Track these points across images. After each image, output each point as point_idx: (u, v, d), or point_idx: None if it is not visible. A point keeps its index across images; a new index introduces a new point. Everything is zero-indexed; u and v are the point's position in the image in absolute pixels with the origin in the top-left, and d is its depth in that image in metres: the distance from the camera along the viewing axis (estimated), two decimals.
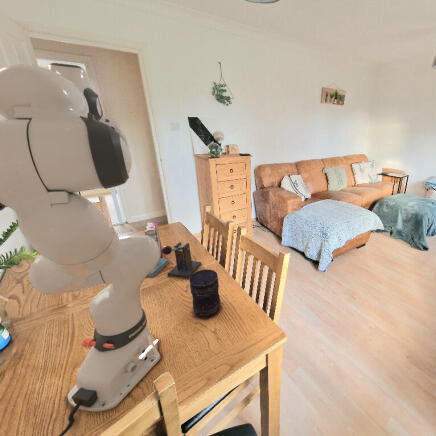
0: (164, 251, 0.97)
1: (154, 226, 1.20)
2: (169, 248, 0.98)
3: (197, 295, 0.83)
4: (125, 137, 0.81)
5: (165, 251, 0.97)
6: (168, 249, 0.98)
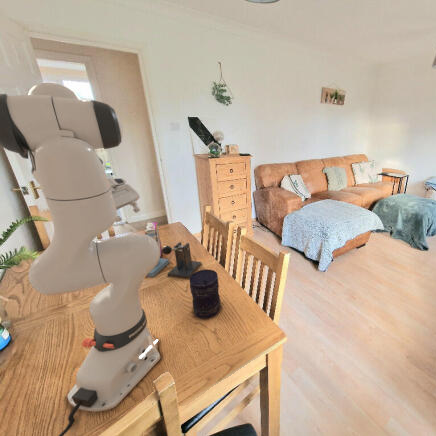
0: (164, 251, 0.97)
1: (154, 226, 1.20)
2: (169, 248, 0.98)
3: (197, 295, 0.83)
4: None
5: (165, 251, 0.97)
6: (168, 249, 0.98)
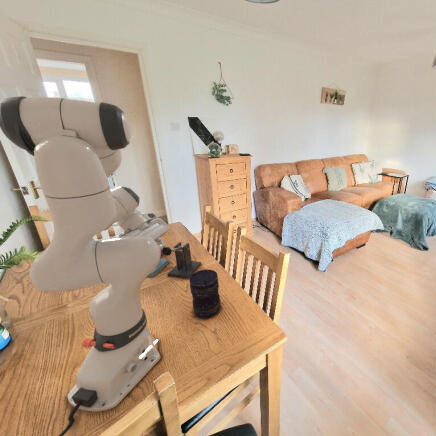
0: (164, 252, 0.97)
1: None
2: (169, 249, 0.98)
3: (197, 295, 0.83)
4: None
5: (165, 252, 0.97)
6: (168, 250, 0.98)
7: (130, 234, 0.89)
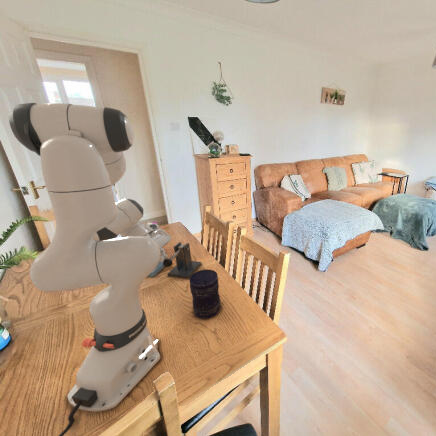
0: (165, 266, 0.99)
1: None
2: (169, 262, 0.99)
3: (197, 295, 0.83)
4: None
5: (166, 266, 0.99)
6: (168, 263, 0.99)
7: None
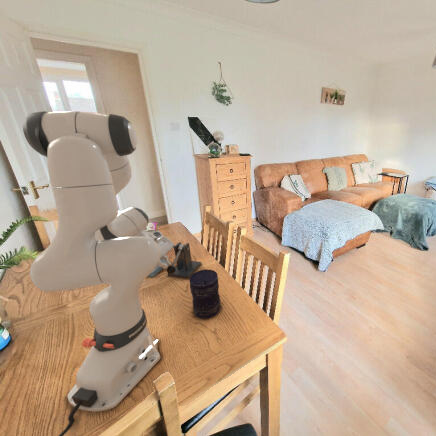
0: (169, 273, 1.02)
1: (154, 226, 1.20)
2: (172, 270, 1.02)
3: (197, 295, 0.83)
4: None
5: (170, 273, 1.02)
6: (172, 271, 1.02)
7: None
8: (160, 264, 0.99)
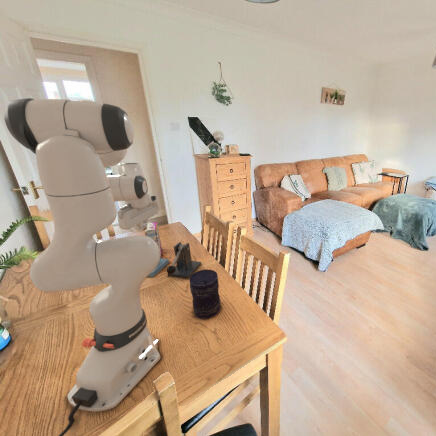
0: (169, 273, 1.02)
1: (154, 226, 1.20)
2: (172, 270, 1.02)
3: (197, 295, 0.83)
4: None
5: (170, 273, 1.02)
6: (172, 271, 1.02)
7: (129, 212, 0.95)
8: (139, 226, 1.03)
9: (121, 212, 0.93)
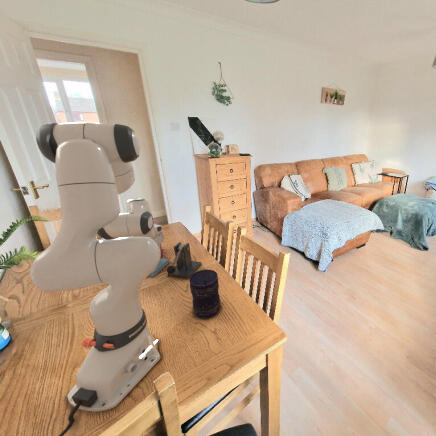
0: (169, 273, 1.02)
1: None
2: (172, 270, 1.02)
3: (197, 295, 0.83)
4: None
5: (170, 273, 1.02)
6: (172, 271, 1.02)
7: None
8: None
9: None
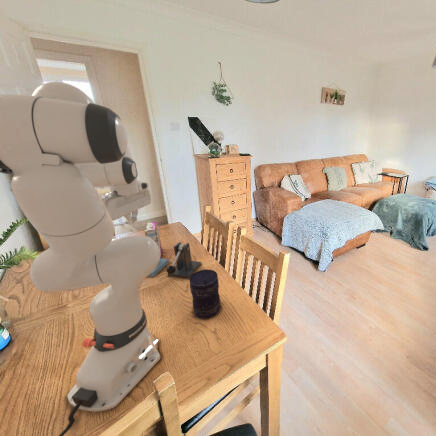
0: (169, 273, 1.02)
1: (154, 226, 1.20)
2: (172, 270, 1.02)
3: (197, 295, 0.83)
4: None
5: (170, 273, 1.02)
6: (172, 271, 1.02)
7: (115, 200, 0.82)
8: (127, 217, 0.90)
9: (105, 200, 0.80)
